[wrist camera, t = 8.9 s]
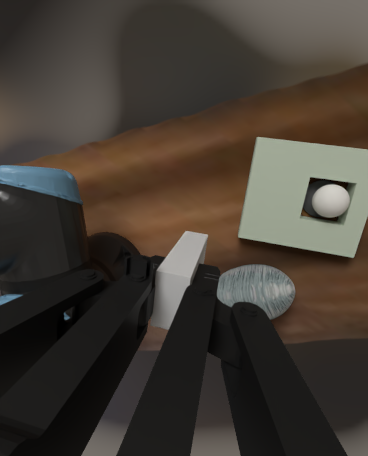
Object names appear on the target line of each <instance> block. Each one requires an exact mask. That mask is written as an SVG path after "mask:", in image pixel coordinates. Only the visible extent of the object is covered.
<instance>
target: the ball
mask: <svg viewBox="0 0 368 456" xmlns="http://www.w3.org/2000/svg"><path fill="white" fill-rule="evenodd" d="M349 203H350V197H349V194H348V192H347V191H346V190H345V189H344V188H343V187H341V186H338V185H333V184H331V185H325V186H323V187H321V188H319V189H318V190H317V191H316V192H315V194H314V195H313V198H312V206H313V208H314V210H315V211H316V212H317V213H318V214H319V215H321V216H323V217H329V218H331V217H337V216H339V215H341V214H343V213H344V212H345V211H346V210H347V208H348V206H349Z"/></svg>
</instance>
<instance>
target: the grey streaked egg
mask: <svg viewBox="0 0 368 456" xmlns="http://www.w3.org/2000/svg"><path fill="white" fill-rule="evenodd" d="M217 297H218V299H219V300H220V301H221V302H222V303H224V304H226V305H228V306H230V307H232V306H233V304H234V303H237V302H251V303H253V304H256V305H258V306H259V307H261V308H262V309H263V310H264V311H265V312H266V314H267V316H268V317H269V319H270V320H271V319H274V318H277V317H278V316H280V315H282V314H283V313H284V312H285V311H286V310H287V309H288V308H289V307H290V305H291V304H292V302H293V300H294V297H295V287H294V284H293V283H292V281H291V280H290V278H289V277H288V276H287V275H286V274H284V273H283V272H282V271H280V270H278V269H276V268H274V267H271V266H268V265H259V264H252V265H245V266H240V267H237V268H234V269H231V270H228V271H227V272H225V273H223V274H222V275H221V276H220V277H219V283H218V289H217Z"/></svg>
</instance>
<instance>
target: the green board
mask: <svg viewBox="0 0 368 456" xmlns="http://www.w3.org/2000/svg"><path fill="white" fill-rule="evenodd" d="M310 177H314V178H321V179H329V180H336V181H344V182H348V186H347V189H346V191H347V192H348V194H349V197H350V203H349V206H348V208H347V210H346V211H345V212H344V213H343V214H341V215H339V216H338V219H337V221H331V220H324V219H318V218H312V217H305V216H300V215H301V211H302V207H303V208H304V210H305V211H306V212H307V213H308V214H310V215H312V216H314V217H323V216H321V215H319V214H318V213H317V212H316V211H315V210H314V208H313V206H312V198H313V195H314V194H315V192H316V191H317V190H318V189H319V188H321V187H323V186H325V185H331V184H333V185H336V184H335V183H333V182H331V181H327V180H320V181H316V182H314V183H312V184H310V185H309V186H308V184H309V180H310ZM367 216H368V150H366V149H357V148H349V147H340V146H331V145H323V144H314V143H305V142H297V141H288V140H279V139H271V138H262V137H257V138H256V142H255V147H254V152H253V158H252V163H251V168H250V173H249V178H248V184H247V189H246V194H245V199H244V204H243V210H242V215H241V220H240V225H239V231H238V237H239V238H245V239H251V240H256V241H262V242H267V243H273V244H279V245H284V246H290V247H295V248H301V249H307V250H312V251H318V252H324V253H329V254H335V255H340V256H346V257H352V258H354V256H355V253H356V250H357V247H358V244H359V241H360V237H361V234H362V231H363V228H364V225H365V222H366V219H367Z"/></svg>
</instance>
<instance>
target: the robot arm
mask: <svg viewBox="0 0 368 456" xmlns="http://www.w3.org/2000/svg"><path fill="white" fill-rule="evenodd" d="M82 205H83V201H82V200H81V198H80V194H79V190H78V185H77V182H76V179H75V178H74V176H73V175H72V174H71V173H69V172H67V171H65V170H61V169H53V168H43V167H29V166H3V165H2V166H0V290H1V296H0V456H81V455H82V453H83V451H84V449H85V447H86V445H87V444H88V442H89V440H90V438H91V436H92V434H93V432H94V430H95V428H96V427H97V425H98V423H99V421H100V419H101V417H102V415H103V413H104V411H105V410H106V408H107V406H108V404H109V402H110V400H111V398H112V396H113V394H114V392H115V390H116V389H117V387H118V385H119V383H120V381H121V379H122V378H123V376H124V374H125V372H126V370H127V368H128V366H129V364H130V362H131V361H132V359H133V357H134V355H135V353H136V351H137V349H138V347H139V346H140V344H141V342H142V340H143V338H144V336H145V334H146V332H147V327H148V321H149V319H150V317H151V326H155V327H159V328H164V329H168V330H169V331H168V333H167V335H166V338H165V340H164V343H163V345H162V347H161V350H160V352H159V355H158V357H157V359H156V362H155V365H154V367H153V369H152V371H151V374H150V376H149V379H148V381H147V383H146V386H145V388H144V391H143V393H142V395H141V398H140V400H139V403H138V405H137V408H136V410H135V412H134V415H133V417H132V420H131V422H130V425H129V427H128V429H127V432H126V434H125V437H124V439H123V441H122V444H121V446H120V448H119V451H118V453H117V455H116V456H190V453H191V447H192V440H193V435H194V429H195V422H196V417H197V410H198V405H199V398H200V392H201V387H202V381H203V375H204V369H205V363H206V357H207V352H209V353H211V354H212V355H214V356H216V357H218V358H220V359H221V368H222V372H223V377H224V381H225V386H226V391H227V395H228V400H229V404H230V408H231V413H232V418H233V423H234V427H235V432H236V436H237V441H238V445H239V450H240V455H241V456H347V454H346V452H345V450H344V449H343V447H342V445H341V444H340V442H339V440H338V438H337V437H336V435H335V433H334V431H333V429H332V428H331V426H330V424H329V422H328V421H327V419H326V417H325V415H324V414H323V412H322V411H321V408H320V407H319V405H318V403H317V401H316V400H315V398H314V396H313V394H312V393H311V391H310V389H309V387H308V386H307V384H306V382H305V381H304V379H303V377H302V375H301V373H300V372H299V370H298V368H297V366H296V365H295V363H294V361H293V359H292V358H291V356H290V354H289V352H288V351H287V349H286V347H285V345H284V344H283V342H282V340H281V338H280V337H279V335H278V333H277V331H276V330H275V328H274V326H273V324H272V323H271V321H270V319H269V317H268V316H267V314H266V312H265V311H264V310H263V309H262V308H261V307H259V306H258V305H256V304H253V303H251V302H237V303H234V304H233V306H232V307H230V306H228V305H226V304H224V303H222V302H221V301H220V300H219V299H218V297H217V289H218V283H219V276H220V270H219V269H218V267H215V266H210V265H205V264H204V258H205V251H206V245H207V239H208V235H206V234H200V233H195V232H189V231H185V233H184V234H183V235H182V237H181V238H180V239H179V241H178V242H177V243H176V245H175V246H174V248H173V249H172V250H171V252H170V253H169V254H168V256H167V257H161V256H156V255H155V256H153V257H147V256H143V255H140V253H139V251H138V250H137V249H136V247H135V246H134V245H133V244H132V243H131V242H130V241H128V240H127V239H126V238H124V237H122V236H120V235H118V234H114V233H109V232H101V233H96V234H94V235H91V236H89V237H87V232H86V225H85V219H84V213H83V207H82Z"/></svg>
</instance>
